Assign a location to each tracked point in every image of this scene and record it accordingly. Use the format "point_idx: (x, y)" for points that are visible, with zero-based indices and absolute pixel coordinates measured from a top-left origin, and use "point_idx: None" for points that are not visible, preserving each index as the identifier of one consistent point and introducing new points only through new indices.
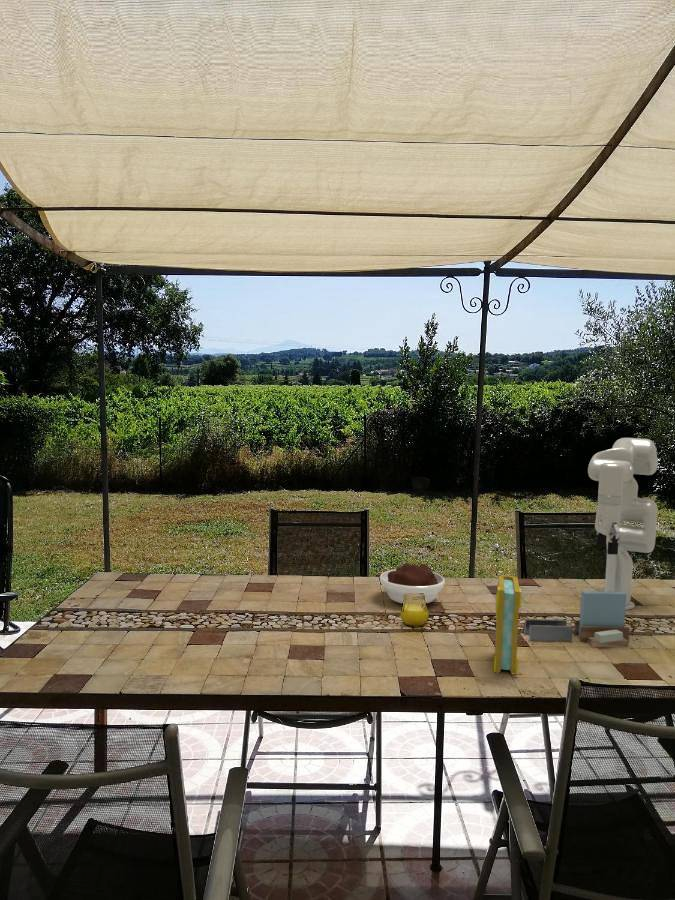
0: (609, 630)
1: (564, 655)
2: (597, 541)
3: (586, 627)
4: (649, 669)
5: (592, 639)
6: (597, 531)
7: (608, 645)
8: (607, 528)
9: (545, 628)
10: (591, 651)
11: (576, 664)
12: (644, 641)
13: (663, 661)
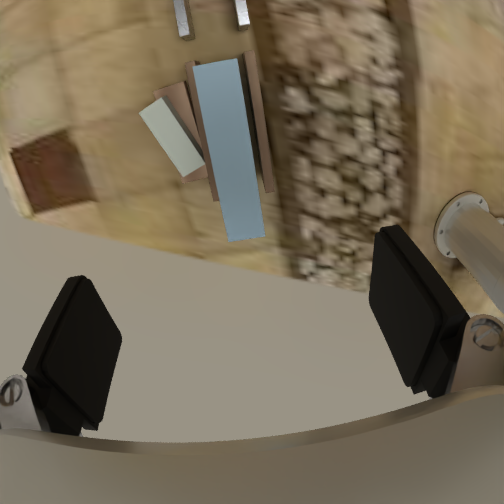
0: (190, 142)
1: (85, 25)
2: (405, 266)
3: (187, 76)
4: (66, 200)
5: (167, 91)
6: (497, 358)
7: None
8: None
9: None
10: (125, 85)
11: (42, 55)
12: None
13: (119, 234)
